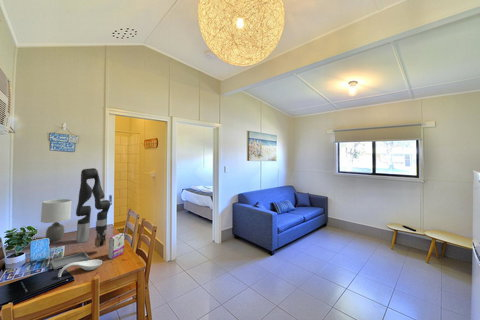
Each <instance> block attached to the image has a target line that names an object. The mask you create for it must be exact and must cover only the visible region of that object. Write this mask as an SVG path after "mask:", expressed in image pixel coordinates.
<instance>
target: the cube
mask: <svg viewBox="0 0 480 320" xmlns="http://www.w3.org/2000/svg"><path fill="white" fill-rule="evenodd" d="M102 240H103V239H102ZM106 244H107V237H105V241H104V243H103V245H102V246H100V239H99V238H97V237H95V238H94V246H95V247H96V248H101V247H104V246H106Z"/></svg>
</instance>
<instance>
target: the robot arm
mask: <svg viewBox="0 0 480 320" xmlns="http://www.w3.org/2000/svg"><path fill="white" fill-rule="evenodd" d="M92 179H93V180H94V184H93V186H90V184H88V180H92ZM92 195H93V197H94V207H95V209H96V210H99V212H97V213H96V222H95V231H96V238H99V239H100V246H101V247H103V246H102V245H103V243H104V241H105V238H106V235H107V234H106V233H105V231H107V227H108V213H109V210H110V208H111V202H110V201H109V200H108V199H105V200H102V199H104V198H105V197H106V196H105V194H104V191H103V189H102V185H101V179H100V175H99V172H98V170H97V169H96V168H95V167H92V168H83V169H82V170H81V172H80V187H79V191H78V202H77V204H76V205H77V206H76V210H75V216H77V217H82V218H80V219H78V220H77V224H76V225H77V226H76V236H75V237H76V239H75V240H76V241H75V242H76V243H77V244H83V243H86V242H89V240H90V224H91V223H90V222H91V213H92V207H91V205H84V204H85V203H87V202H88V201H89V200H90V199H91V198H92ZM102 239H103V240H102Z"/></svg>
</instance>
